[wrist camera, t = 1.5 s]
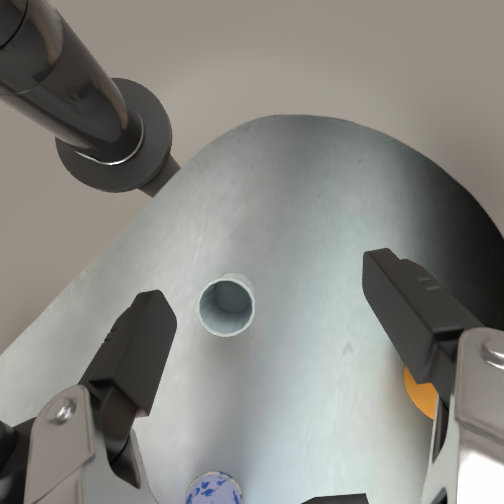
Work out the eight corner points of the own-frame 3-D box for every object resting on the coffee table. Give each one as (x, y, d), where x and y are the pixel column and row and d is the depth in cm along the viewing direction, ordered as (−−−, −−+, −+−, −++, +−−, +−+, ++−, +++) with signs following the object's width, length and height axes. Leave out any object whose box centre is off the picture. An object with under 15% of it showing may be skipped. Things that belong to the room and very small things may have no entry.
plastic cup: (205, 293, 33) (184, 307, 23) (233, 264, 33) (225, 265, 23) (234, 322, 33) (226, 349, 23) (263, 292, 33) (267, 306, 23)
